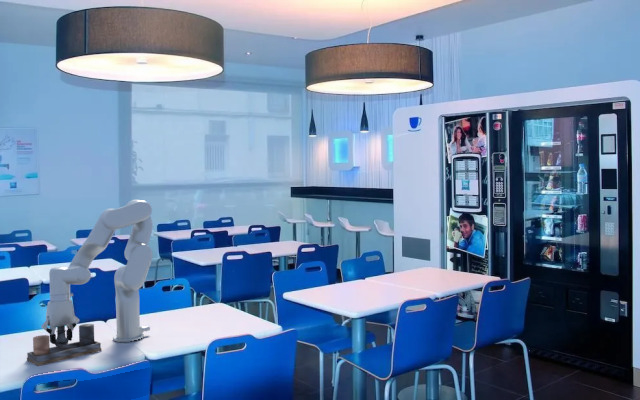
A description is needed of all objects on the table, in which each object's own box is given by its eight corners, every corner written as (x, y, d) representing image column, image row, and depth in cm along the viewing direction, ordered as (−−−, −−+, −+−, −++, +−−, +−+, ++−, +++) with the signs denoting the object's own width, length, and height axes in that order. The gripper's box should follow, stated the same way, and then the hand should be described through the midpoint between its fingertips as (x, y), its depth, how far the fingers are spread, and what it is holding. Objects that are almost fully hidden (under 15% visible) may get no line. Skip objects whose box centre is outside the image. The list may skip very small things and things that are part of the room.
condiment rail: (89, 346, 249) (88, 322, 249) (101, 351, 243) (100, 325, 242) (26, 360, 231) (26, 334, 230) (38, 366, 224) (37, 338, 224)
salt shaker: (54, 351, 242) (53, 322, 242) (53, 348, 248) (52, 319, 247) (70, 349, 245) (69, 320, 245) (68, 346, 250) (68, 317, 250)
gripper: (76, 293, 254) (77, 336, 255) (34, 299, 242) (35, 344, 242) (85, 295, 249) (86, 339, 250) (42, 302, 237) (44, 348, 237)
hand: (61, 341), depth 246 cm, fingers closed on salt shaker, 5 cm apart
